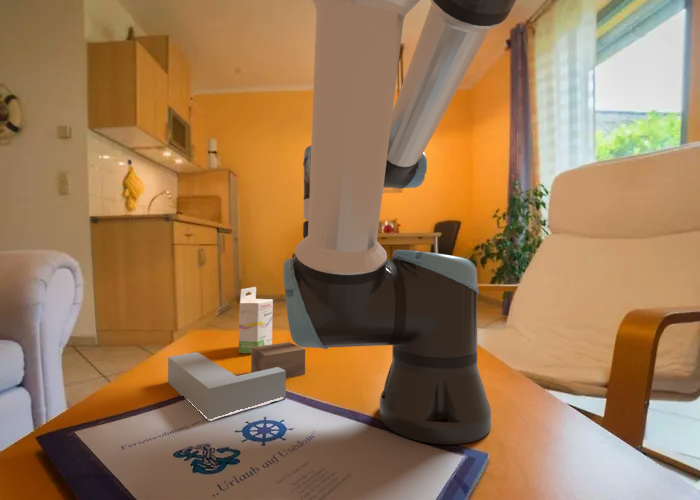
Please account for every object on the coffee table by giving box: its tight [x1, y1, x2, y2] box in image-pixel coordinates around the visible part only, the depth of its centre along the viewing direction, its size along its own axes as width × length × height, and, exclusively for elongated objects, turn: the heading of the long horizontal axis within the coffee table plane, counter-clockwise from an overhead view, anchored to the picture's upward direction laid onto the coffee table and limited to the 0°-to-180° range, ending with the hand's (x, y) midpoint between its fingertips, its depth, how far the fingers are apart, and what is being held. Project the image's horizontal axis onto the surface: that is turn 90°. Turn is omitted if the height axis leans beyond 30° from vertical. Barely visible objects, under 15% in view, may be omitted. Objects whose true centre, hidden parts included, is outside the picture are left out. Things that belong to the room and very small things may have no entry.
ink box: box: [238, 286, 274, 354], centre depth 88 cm, size 9×5×15 cm, turn 168°
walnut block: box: [250, 341, 306, 379], centre depth 70 cm, size 7×8×5 cm
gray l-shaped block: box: [167, 351, 287, 419], centre depth 61 cm, size 20×12×4 cm, turn 41°
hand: (319, 331), depth 77 cm, fingers closed
